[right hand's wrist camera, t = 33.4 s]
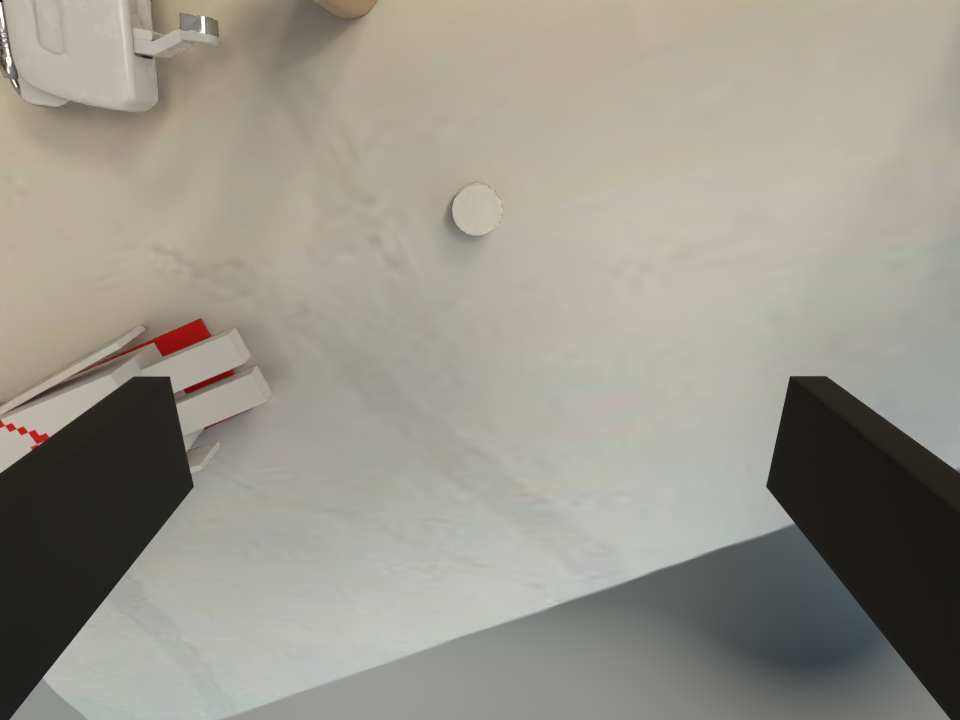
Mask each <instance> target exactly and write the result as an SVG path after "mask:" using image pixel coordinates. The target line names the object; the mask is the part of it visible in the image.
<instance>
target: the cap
mask: <svg viewBox="0 0 960 720" xmlns="http://www.w3.org/2000/svg"><path fill="white" fill-rule="evenodd" d="M452 215H453V219H454V221H455V223H456V225H457V226H458V228H460V229H461V230H462V231H463V232H465V233H467V234H469V235H473V236H481V235H485V234H487V233H489V232H491V231H492V230H493V229H494V228H495V227H496V226H497V225H498V223H499V221H500V218H501V216H502V205H501V202H500V197H498V195H497V194H496V191H494V190H493V189H492V188H490V186H487V185H485V184H482V183H473V184H469V185H466V186H465V187H463V188H462V189H460V190H459V192H458V193H457V195H455V199H454V202H453V203H452Z"/></svg>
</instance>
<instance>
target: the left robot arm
mask: <svg viewBox="0 0 960 720" xmlns="http://www.w3.org/2000/svg"><path fill="white" fill-rule="evenodd" d="M194 43H195V44H204V45H212V46H219V33H218V21H217V20H213V19H212V18H209V17H204V16H196V17H195V16H193V15H190V14H181V13H180V28H178V29H176V30H174V31H172V32H170V33H168V34H166V35H164V34H160V33H157V32H153V26H152V14H151V2H150V0H0V68H1V71H2V74H3V76H4V77H5V78H10V82H11V84H12V86H13V88H14V89H15V91H16V92H17V93H18V95H19V96H20V97H21V98H23V99H24V100H25V101H26V102H28V103H30V104H32V105H35V106H41V107H49V108H57V109H60V108H66V107H68V106H70V105H71V104H73V103H74V102H78V103H82V104H86V105H90V106H95V107H100V108H106V109H111V110H118V111H128V112H146V111H147V110H149V109H150V108H151V107H153V106H154V105H155V104H156V103H157V102H158V86H157V74H156V62H155V57H159V58H168V59H171V58H172V57H174V56H176V55H178V54H179V53H181V52H183V51H185V50H187V49H188V48H190V47H192V46H194ZM17 79H18V80H19V83H18V80H17Z"/></svg>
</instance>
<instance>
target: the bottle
mask: <svg viewBox="0 0 960 720" xmlns="http://www.w3.org/2000/svg"><path fill="white" fill-rule="evenodd" d="M314 1H315V2H317V3H318V4H319V5H321V6H322V7H323V8H325V9H326V10H327V11H329V12H330V13H331V14H333V15H335V16H337V17H340V18H344V19H355V18H358V17H361V16H363V15H364V14H366V13H367V12H368V11H370V10H371V8H372V7H373V6H374V4H375V3H376V1H377V0H314Z"/></svg>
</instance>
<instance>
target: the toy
mask: <svg viewBox="0 0 960 720" xmlns="http://www.w3.org/2000/svg"><path fill="white" fill-rule="evenodd" d="M143 331H145V328H144V327H143V326H142V325H139V326H137V327H135V328H134V329H132V330H130V331H128V332H127V333H125V334H123V335H121V336H119V337H118V338H116V339H114V340H112V341H111V342H109V343H107V344H105V345H103V346H102V347H100V348H98V349H96V350H95V351H93V352H91V353H89V354H87V355H86V356H84V357H82V358H80V359H79V360H77V361H75V362H73V363H71V364H70V365H68V366H66V367H64V368H62V369H61V370H59V371H57V372H55V373H54V374H52V375H50V376H48V377H46V378H45V379H43V380H41V381H39V382H38V383H36V384H34V385H32V386H30V387H29V388H27V389H26V390H24V391H23V392H21V393H20V394H18V395H17V396H15V397H13V398H12V399H10V400H9V401H7V402H6V403H4V404H2V405H0V473H1V472H3V471H4V470H5V469H7V468H8V467H9V466H11V465H12V464H14V463H15V462H16V461H18V460H19V459H21V458H22V457H23V456H25V455H26V454H27V453H29V452H30V451H32V450H33V449H34V448H36V447H37V446H38V445H40V444H41V443H43V442H44V441H45V440H47V439H48V438H49V437H51V436H52V435H54V434H55V433H56V432H58V431H59V430H60V429H62V428H63V427H65V426H66V425H67V424H69V423H70V422H72V421H73V420H74V419H76V418H77V417H78V416H80V415H81V414H83V413H84V412H85V411H87V410H88V409H89V408H91V407H92V406H94V405H95V404H96V403H98V402H99V401H100V400H102V399H103V398H105V397H106V396H107V395H109V394H110V393H112V392H113V391H114V390H116V389H117V388H118V387H120V386H121V385H123V384H124V383H125V382H127V381H128V380H129V379H131V378H132V377H134V376H170V379H171V384H172V388H173V393H174V398H175V402H176V407H177V412H178V416H179V421H180V426H181V430H182V435H183V440H184V444H185V449H186V453H187V458H188V463H189V467H190V472H191V474H192V473H195V472H199V471H202V470H204V468H205V467H206V465H207V464H208V463H209V461H210V460H211V458H212V457H213V456H214V454H215V453H216V451H217V450H218V449H219V447H220V445H219V443H218V441H216V442H213V443H210V444H207V445H204V446H201V447H197V448H194V449H191V450H189V448H190V447H191V446H192V444H193V443H194V442H195V440H196V439H197V437H198V436H199V435H200V433H201V432H202V431H203V430H204V429H207V428H209V427H211V426H213V425H215V424H218V423H220V422H222V421H224V420H227V419H229V418H231V417H233V416H236V415H238V414H240V413H242V412H245V411H247V410H249V409H251V408H253V407H255V406H258V405H260V404H263V403H265V402H267V400H268V398H269V397H270V395H271V393H272V392H271V390H270V388H269V386H268V384H267V383H266V381H265V379H264V377H263V376H262V374H261V372H260V370H259V369H258V367H257V365H256V366H254V367H252V368H249V369H247V370H244V371H242V372H240V373H237V374H234V373H233V371H232V369H233V368H236V367H238V366H240V365H243V364H245V363H246V361H247V360H248V359H249V358H250V356H251V354H250V353H249V351H248V349H247V347H246V346H245V344H244V342H243V340H242V339H241V337H240V335H239V333H238V332H237V330H236V328H235V327H234V328H232V329H229V330H227V331H225V332H222V333H220V334H217V335H215V336H212V337H211V335H210V333H209V332H208V330H207V329H206V327H205V325H204V324H203V322H202V320H201V319H198V320H196V321H194V322H191V323H189V324H187V325H185V326H182V327H180V328H178V329H176V330H173V331H171V332H169V333H167V334H164V335H162V336H160V337H158V338H155V339H153V340H151V341H148V342H146V343H144V344H142V345H139V346H137V347H135V348H133V349H130V350H128V351H126V352H124V353H121V354H119V355H117V356H114V357H112V358H110V359H108V360H105V361H103V362H101V363H99V364H96V365H94V366H92V367H90V368H87V369H85V370H83V371H81V370H82V369H84V368H86V367H88V366H90V365H91V364H93V363H95V362H97V361H98V360H100V359H102V358H104V357H106V356H107V355H109V354H111V353H113V352H115V351H116V350H118V349H120V348H121V347H123V346H124V345H126V344H127V343H128V342H130V341H131V340H132V339H134V338H135V337H136V336H138V335H139V334H141V333H142V332H143ZM79 371H80V372H79ZM77 372H78V373H77ZM75 373H76V374H75ZM73 374H74V375H73Z"/></svg>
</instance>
